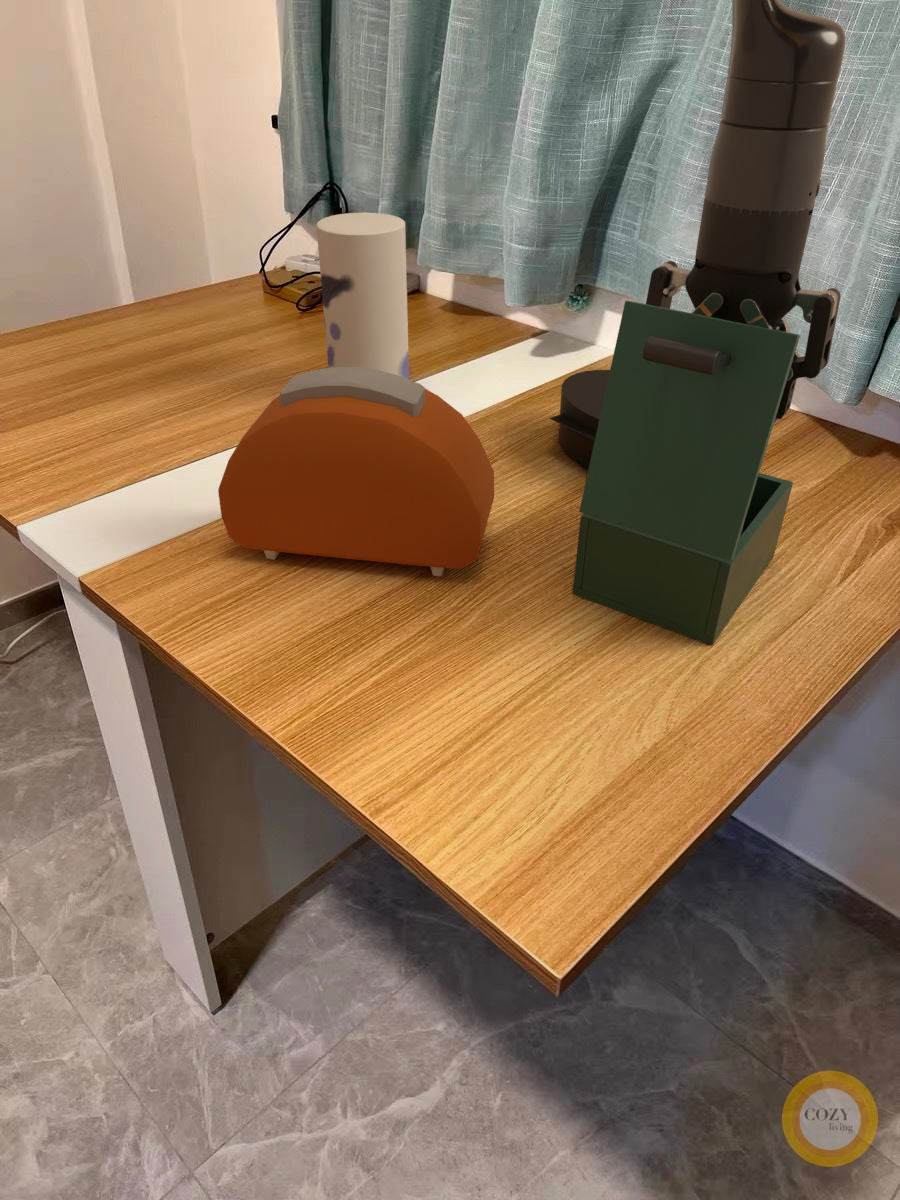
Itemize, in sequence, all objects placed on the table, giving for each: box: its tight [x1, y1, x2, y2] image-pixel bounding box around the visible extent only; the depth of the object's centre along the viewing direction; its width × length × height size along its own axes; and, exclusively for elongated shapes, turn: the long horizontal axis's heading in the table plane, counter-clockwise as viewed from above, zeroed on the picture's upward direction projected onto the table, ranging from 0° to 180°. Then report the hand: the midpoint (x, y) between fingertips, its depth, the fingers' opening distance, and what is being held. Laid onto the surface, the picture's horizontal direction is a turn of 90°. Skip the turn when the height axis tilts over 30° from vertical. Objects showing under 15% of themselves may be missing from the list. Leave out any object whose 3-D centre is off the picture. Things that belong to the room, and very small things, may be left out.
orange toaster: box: [217, 367, 495, 577], centre depth 78 cm, size 23×9×17 cm, turn 80°
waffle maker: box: [548, 369, 610, 471], centre depth 96 cm, size 14×18×8 cm
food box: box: [572, 472, 794, 646], centre depth 77 cm, size 16×13×8 cm
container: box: [316, 212, 410, 380], centre depth 106 cm, size 10×10×20 cm
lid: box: [578, 300, 801, 561], centre depth 64 cm, size 16×13×5 cm
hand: (719, 408), depth 72 cm, fingers open, 8 cm apart
